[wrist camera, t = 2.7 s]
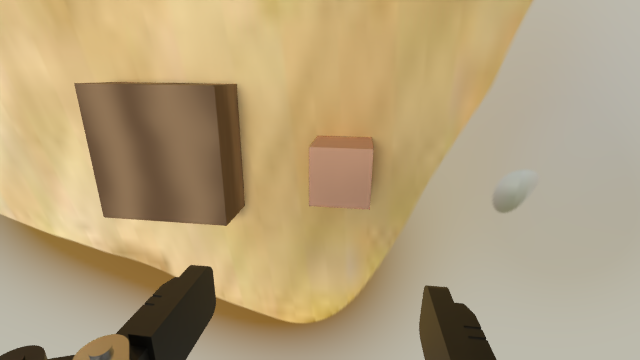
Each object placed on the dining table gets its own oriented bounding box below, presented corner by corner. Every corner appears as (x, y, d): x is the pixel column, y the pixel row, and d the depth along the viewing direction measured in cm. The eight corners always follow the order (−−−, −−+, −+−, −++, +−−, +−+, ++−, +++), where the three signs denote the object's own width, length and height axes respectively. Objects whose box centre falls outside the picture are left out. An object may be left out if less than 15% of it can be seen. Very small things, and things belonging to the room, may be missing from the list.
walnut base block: (237, 84, 29) (214, 85, 25) (245, 204, 33) (226, 225, 29) (118, 82, 31) (74, 83, 26) (139, 197, 35) (103, 217, 30)
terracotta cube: (371, 137, 29) (373, 149, 25) (368, 188, 31) (369, 209, 26) (317, 135, 30) (309, 147, 25) (317, 186, 31) (309, 205, 27)
